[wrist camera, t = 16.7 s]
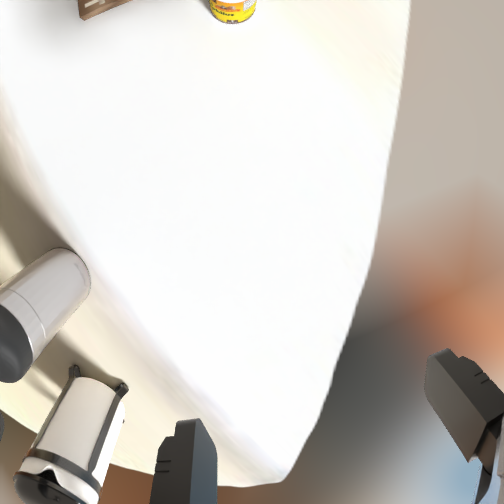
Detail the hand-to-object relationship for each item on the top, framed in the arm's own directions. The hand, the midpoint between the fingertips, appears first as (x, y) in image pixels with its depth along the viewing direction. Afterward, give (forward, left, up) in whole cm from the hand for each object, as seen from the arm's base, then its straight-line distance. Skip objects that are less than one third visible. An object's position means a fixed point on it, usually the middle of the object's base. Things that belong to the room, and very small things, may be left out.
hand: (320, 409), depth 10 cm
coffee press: (-36, -26, -33) cm, 55 cm away
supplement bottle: (+3, +27, -33) cm, 42 cm away
